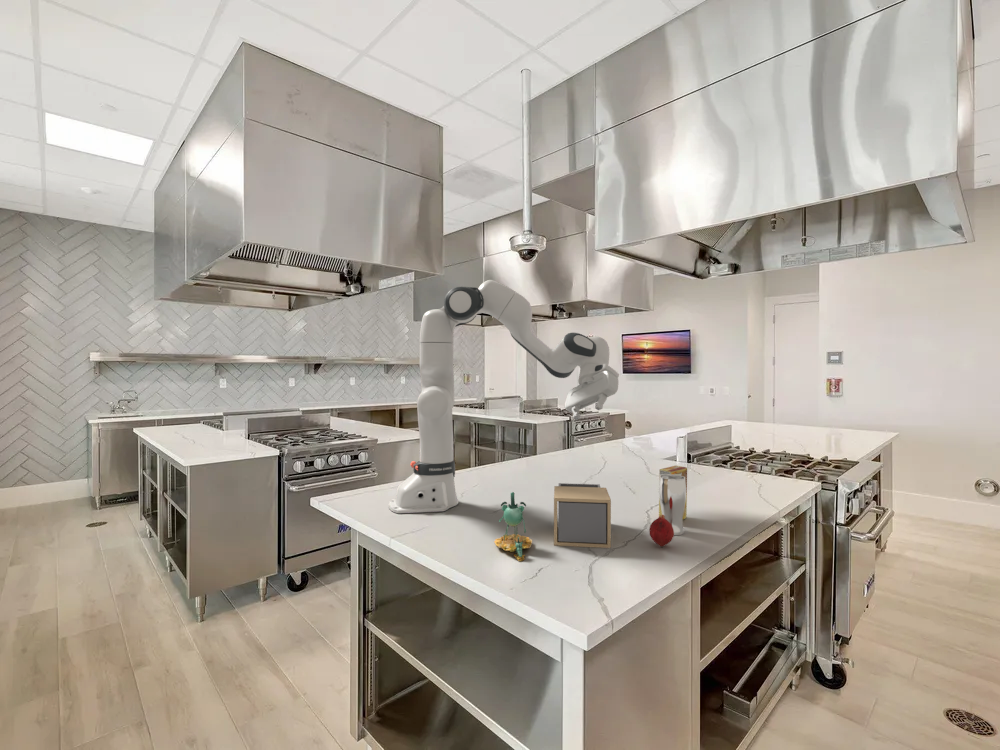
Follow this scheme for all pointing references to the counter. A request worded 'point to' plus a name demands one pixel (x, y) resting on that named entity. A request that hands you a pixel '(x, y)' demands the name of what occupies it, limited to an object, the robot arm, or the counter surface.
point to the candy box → (676, 471)
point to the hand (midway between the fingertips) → (587, 413)
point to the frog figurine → (514, 518)
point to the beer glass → (673, 500)
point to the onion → (661, 531)
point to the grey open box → (581, 519)
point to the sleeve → (583, 496)
